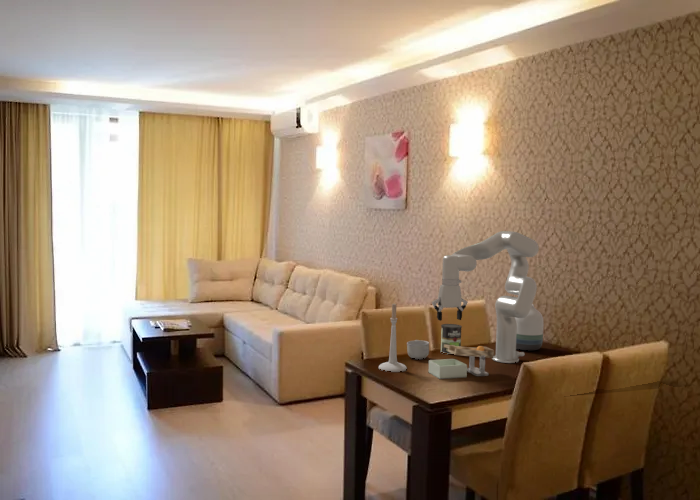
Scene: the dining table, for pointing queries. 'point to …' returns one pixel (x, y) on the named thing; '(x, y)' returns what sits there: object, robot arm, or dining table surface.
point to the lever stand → (476, 371)
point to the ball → (480, 348)
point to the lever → (469, 351)
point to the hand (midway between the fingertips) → (449, 319)
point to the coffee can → (450, 336)
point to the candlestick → (393, 348)
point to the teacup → (418, 349)
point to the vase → (530, 331)
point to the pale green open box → (447, 368)
